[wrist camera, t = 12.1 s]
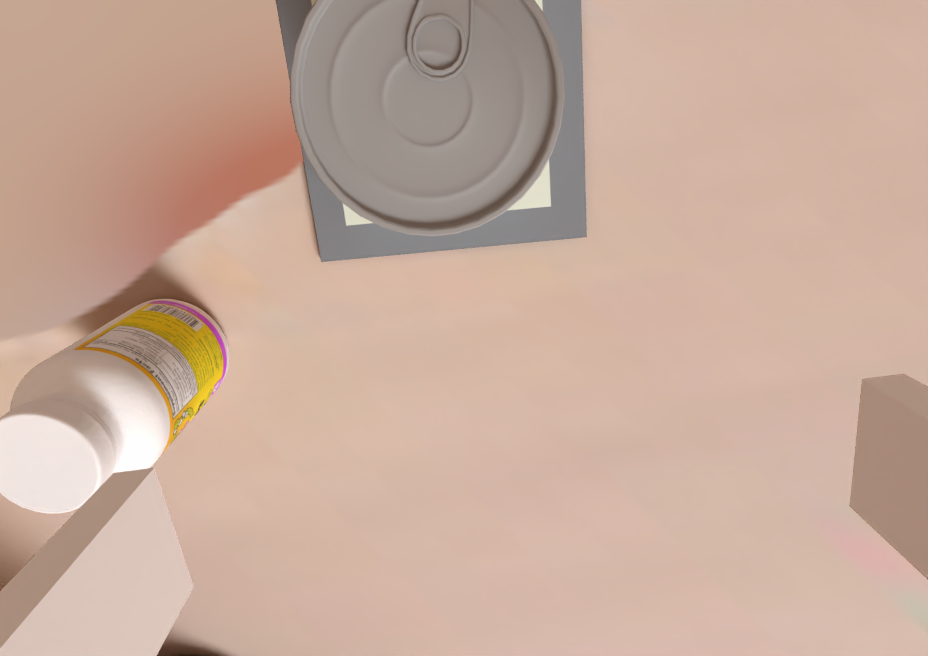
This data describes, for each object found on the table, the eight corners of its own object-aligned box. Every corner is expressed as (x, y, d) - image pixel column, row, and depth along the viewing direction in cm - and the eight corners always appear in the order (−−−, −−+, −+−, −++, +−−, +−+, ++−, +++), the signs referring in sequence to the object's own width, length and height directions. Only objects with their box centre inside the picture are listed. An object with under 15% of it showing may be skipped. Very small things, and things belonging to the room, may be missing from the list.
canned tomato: (499, 211, 29) (525, 263, 19) (338, 174, 28) (272, 206, 18) (543, 35, 27) (600, -17, 16) (367, -10, 26) (309, -96, 15)
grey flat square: (322, 260, 34) (321, 261, 34) (270, -40, 29) (268, -42, 29) (585, 235, 34) (586, 236, 34) (577, -71, 29) (579, -74, 29)
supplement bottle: (153, 411, 37) (9, 553, 25) (100, 315, 35) (-87, 419, 23) (252, 380, 37) (153, 509, 25) (204, 280, 35) (69, 368, 22)
